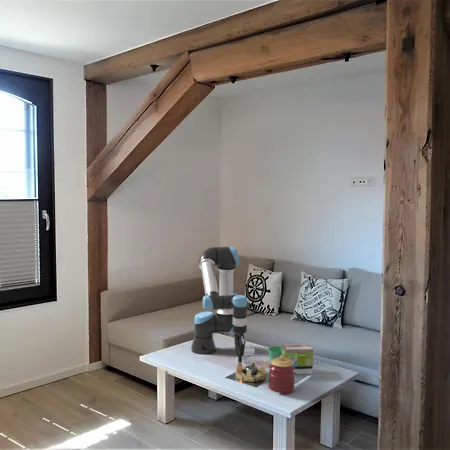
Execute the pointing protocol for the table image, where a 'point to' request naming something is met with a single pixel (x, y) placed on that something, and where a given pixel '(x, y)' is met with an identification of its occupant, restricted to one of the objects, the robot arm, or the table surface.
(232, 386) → the table surface
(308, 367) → the tea box
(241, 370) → the ring nut
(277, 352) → the mug
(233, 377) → the cap plate
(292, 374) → the canister
